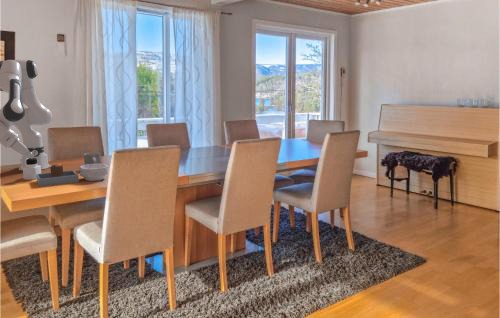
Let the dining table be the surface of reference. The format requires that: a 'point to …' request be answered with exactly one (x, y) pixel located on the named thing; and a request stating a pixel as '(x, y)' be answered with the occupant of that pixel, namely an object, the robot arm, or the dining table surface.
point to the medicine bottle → (31, 168)
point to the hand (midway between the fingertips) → (32, 156)
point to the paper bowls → (93, 171)
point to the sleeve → (56, 171)
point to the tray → (57, 178)
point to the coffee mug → (92, 158)
